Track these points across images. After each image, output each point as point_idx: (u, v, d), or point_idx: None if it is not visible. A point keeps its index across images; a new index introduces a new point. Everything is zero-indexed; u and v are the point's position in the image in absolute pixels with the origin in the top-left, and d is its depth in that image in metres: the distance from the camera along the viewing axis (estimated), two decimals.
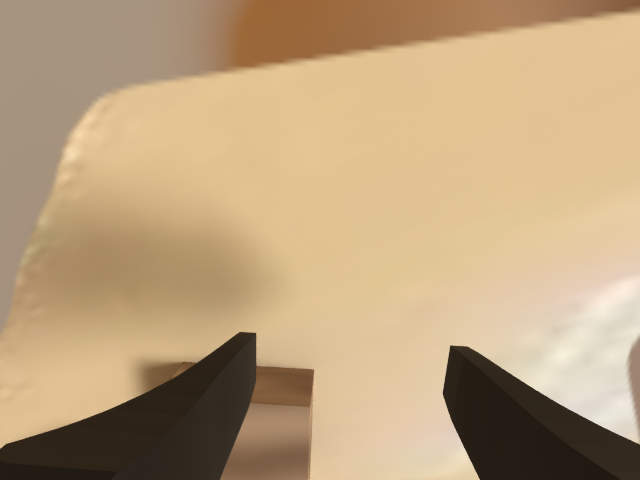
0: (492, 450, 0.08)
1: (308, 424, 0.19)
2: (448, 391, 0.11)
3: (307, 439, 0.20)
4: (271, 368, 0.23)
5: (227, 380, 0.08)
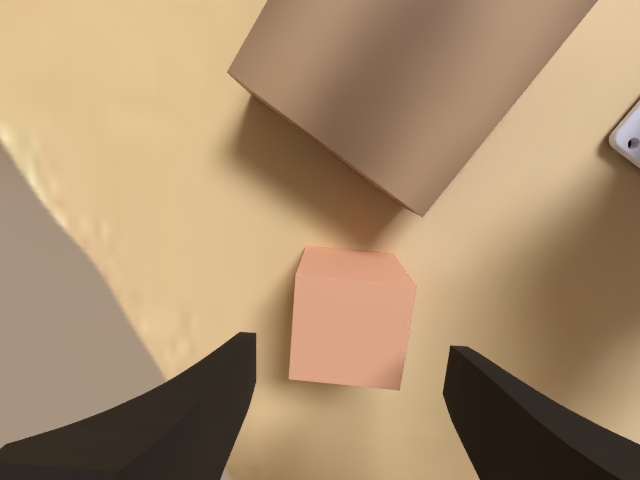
0: (492, 450, 0.08)
1: None
2: (448, 391, 0.11)
3: None
4: None
5: (227, 380, 0.08)
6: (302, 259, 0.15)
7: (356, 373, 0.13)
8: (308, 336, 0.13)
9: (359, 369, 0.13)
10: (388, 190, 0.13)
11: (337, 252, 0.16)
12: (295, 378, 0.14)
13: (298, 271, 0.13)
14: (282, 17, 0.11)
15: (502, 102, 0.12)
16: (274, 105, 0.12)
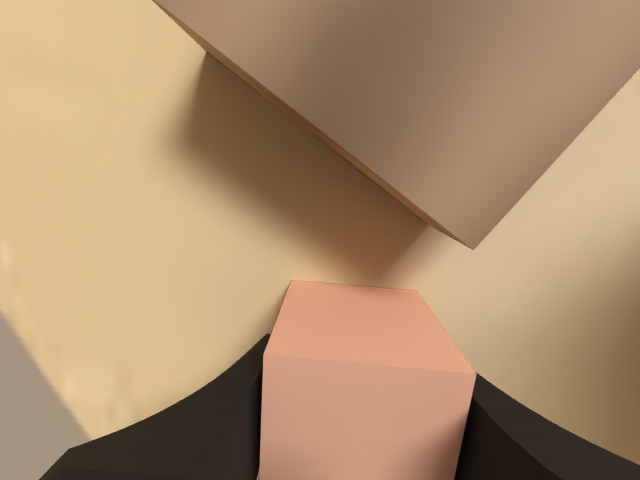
0: None
1: None
2: None
3: None
4: None
5: None
6: (281, 312, 0.09)
7: None
8: (289, 453, 0.08)
9: None
10: (418, 204, 0.08)
11: (336, 292, 0.11)
12: None
13: (270, 345, 0.08)
14: None
15: (628, 54, 0.07)
16: (224, 51, 0.07)
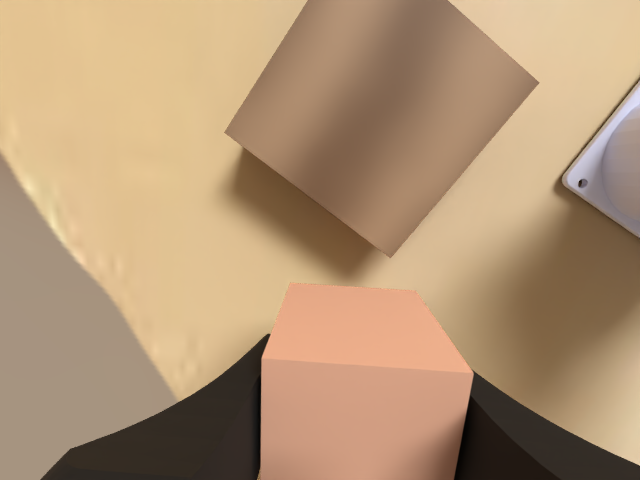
0: None
1: None
2: None
3: None
4: None
5: None
6: (280, 315, 0.09)
7: None
8: (289, 455, 0.08)
9: None
10: (361, 234, 0.15)
11: (335, 294, 0.11)
12: None
13: (268, 348, 0.08)
14: (272, 89, 0.14)
15: (457, 165, 0.14)
16: (264, 161, 0.14)
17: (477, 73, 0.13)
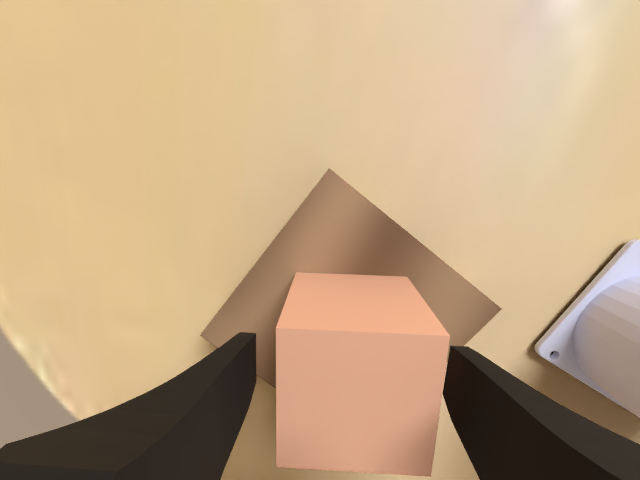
0: (492, 450, 0.08)
1: (352, 189, 0.13)
2: (448, 391, 0.11)
3: (373, 207, 0.13)
4: None
5: (227, 380, 0.08)
6: (288, 297, 0.11)
7: (369, 457, 0.10)
8: (300, 410, 0.09)
9: (373, 451, 0.10)
10: None
11: (335, 280, 0.13)
12: (285, 465, 0.10)
13: (280, 321, 0.09)
14: (246, 302, 0.14)
15: None
16: None
17: (442, 298, 0.14)
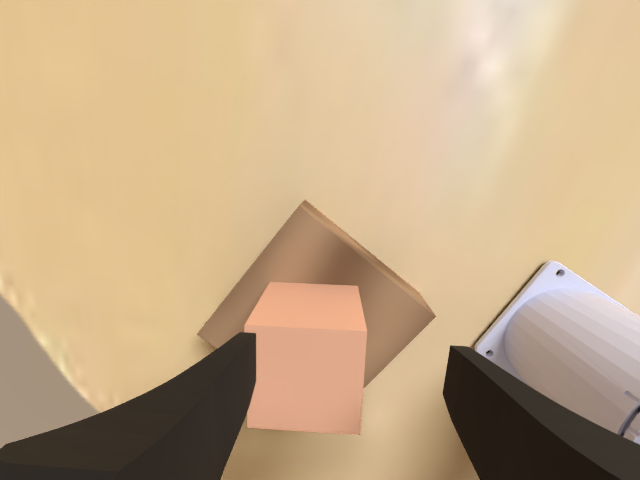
0: (492, 450, 0.08)
1: (317, 222, 0.16)
2: (448, 391, 0.11)
3: (334, 236, 0.16)
4: None
5: (227, 380, 0.08)
6: (259, 302, 0.14)
7: (314, 419, 0.13)
8: (263, 385, 0.13)
9: (317, 415, 0.13)
10: None
11: (299, 289, 0.16)
12: (254, 426, 0.13)
13: (248, 320, 0.13)
14: (234, 308, 0.18)
15: (376, 366, 0.18)
16: None
17: (389, 307, 0.17)
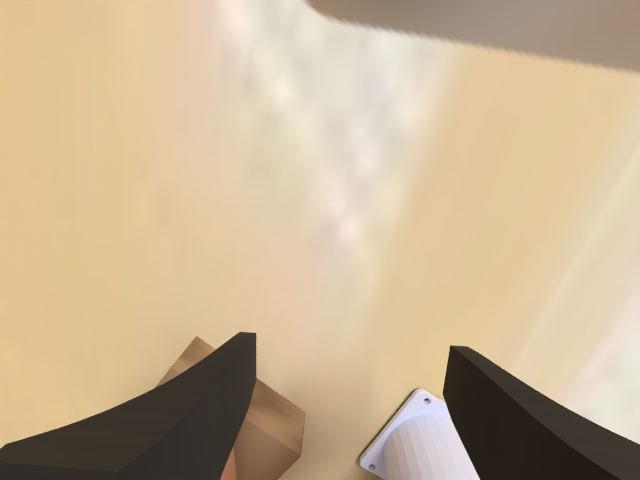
0: (492, 450, 0.08)
1: None
2: (448, 391, 0.11)
3: None
4: None
5: (227, 380, 0.08)
6: None
7: None
8: None
9: None
10: None
11: None
12: None
13: None
14: None
15: None
16: None
17: (259, 448, 0.19)
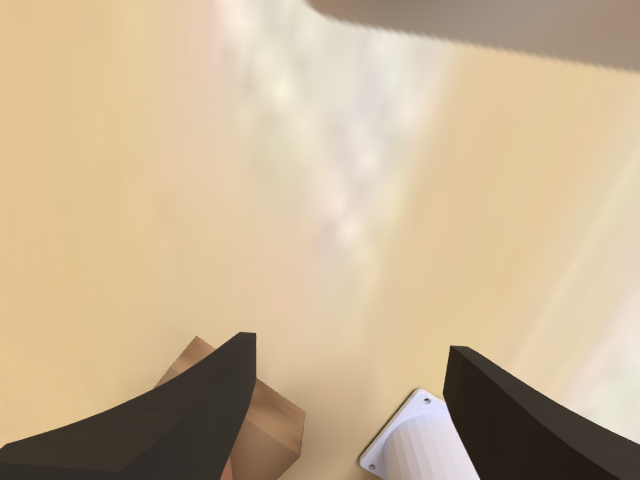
0: (492, 450, 0.08)
1: None
2: (448, 391, 0.11)
3: None
4: None
5: (227, 380, 0.08)
6: None
7: None
8: None
9: None
10: None
11: None
12: None
13: None
14: None
15: None
16: None
17: (258, 448, 0.19)
